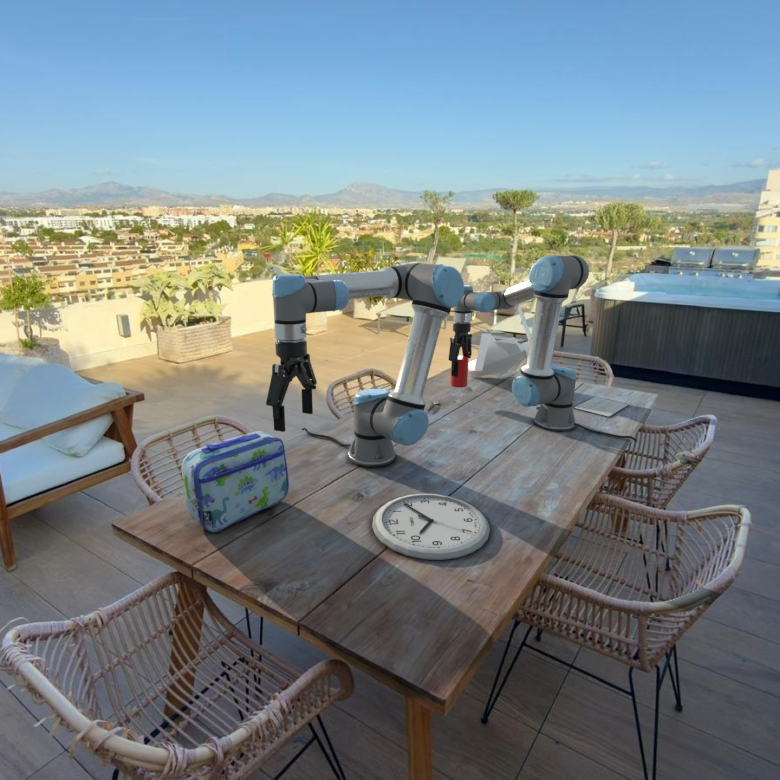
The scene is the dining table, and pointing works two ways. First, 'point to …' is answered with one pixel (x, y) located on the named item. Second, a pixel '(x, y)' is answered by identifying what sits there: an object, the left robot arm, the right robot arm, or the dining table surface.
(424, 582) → the dining table surface
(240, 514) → the lunch box
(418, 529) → the wall clock
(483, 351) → the white plastic object
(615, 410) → the invitation card
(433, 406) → the fork
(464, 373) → the can
